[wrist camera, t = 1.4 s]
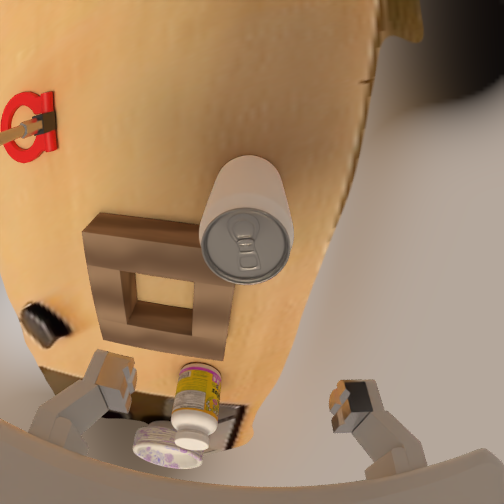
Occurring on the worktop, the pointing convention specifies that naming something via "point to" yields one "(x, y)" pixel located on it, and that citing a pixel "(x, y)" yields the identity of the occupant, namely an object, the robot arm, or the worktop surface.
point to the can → (247, 222)
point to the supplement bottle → (196, 406)
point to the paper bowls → (164, 447)
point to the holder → (161, 265)
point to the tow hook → (29, 126)
